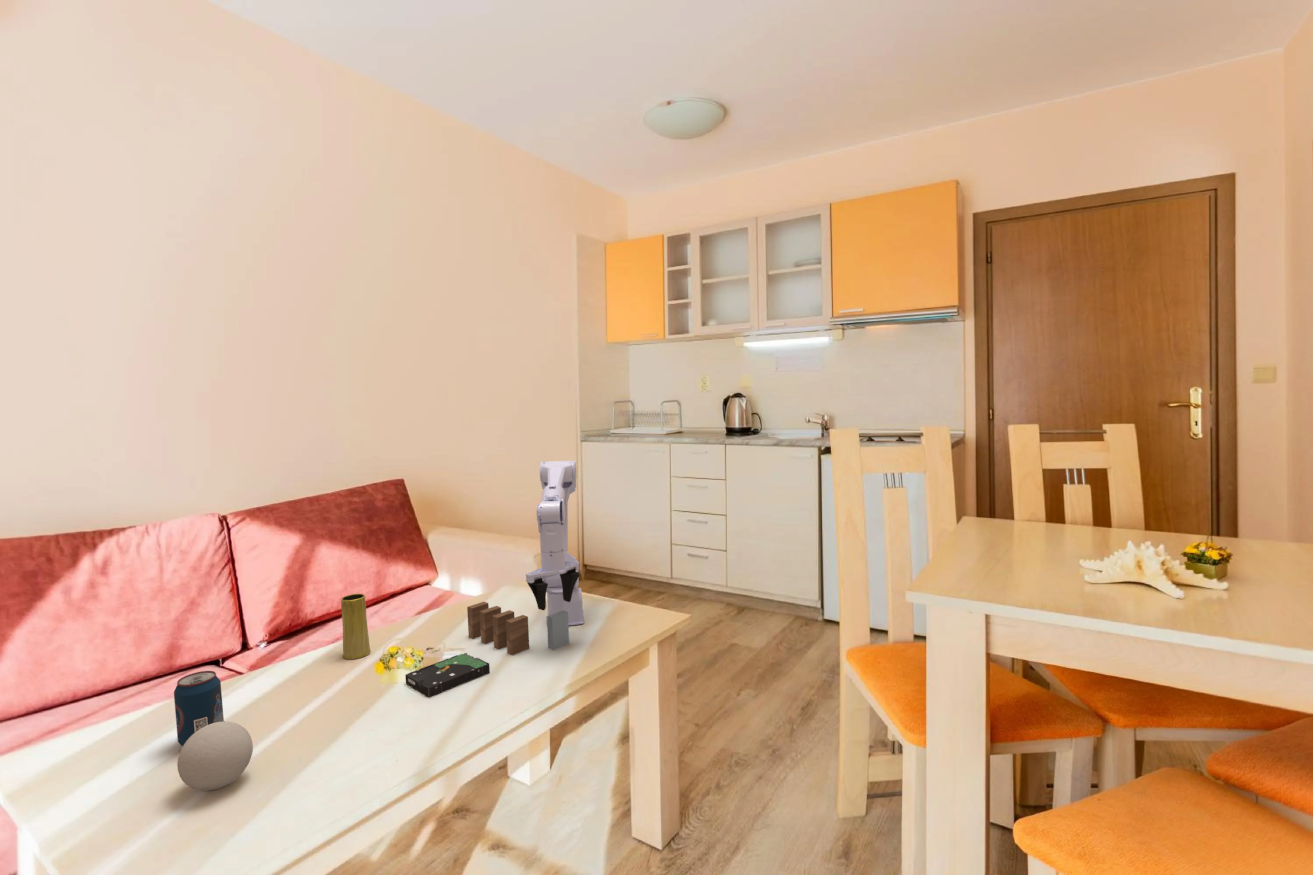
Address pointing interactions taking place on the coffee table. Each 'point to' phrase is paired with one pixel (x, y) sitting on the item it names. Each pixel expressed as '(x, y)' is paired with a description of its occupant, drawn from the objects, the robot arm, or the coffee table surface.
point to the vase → (354, 626)
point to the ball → (215, 756)
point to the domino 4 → (558, 630)
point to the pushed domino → (475, 619)
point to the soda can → (197, 703)
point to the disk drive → (447, 674)
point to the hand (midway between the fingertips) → (554, 604)
